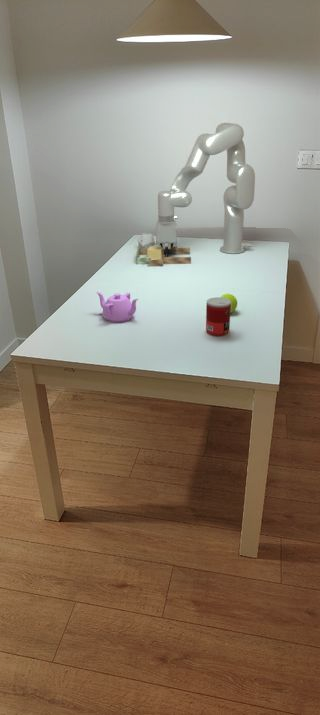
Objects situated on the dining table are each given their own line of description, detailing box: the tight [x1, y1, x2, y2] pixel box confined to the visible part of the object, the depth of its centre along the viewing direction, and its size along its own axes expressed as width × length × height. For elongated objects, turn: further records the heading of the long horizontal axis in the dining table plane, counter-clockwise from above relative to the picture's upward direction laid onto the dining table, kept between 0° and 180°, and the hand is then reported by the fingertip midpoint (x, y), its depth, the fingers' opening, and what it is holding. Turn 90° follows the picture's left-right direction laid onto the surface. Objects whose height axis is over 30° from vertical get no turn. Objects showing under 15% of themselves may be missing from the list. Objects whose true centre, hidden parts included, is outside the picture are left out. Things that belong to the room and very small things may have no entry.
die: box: [136, 233, 156, 249], centre depth 266 cm, size 8×9×10 cm
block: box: [146, 245, 165, 260], centre depth 253 cm, size 7×7×4 cm
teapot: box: [95, 291, 139, 323], centre depth 185 cm, size 12×14×9 cm
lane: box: [135, 245, 192, 267], centre depth 250 cm, size 26×23×4 cm
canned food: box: [205, 296, 231, 337], centre depth 172 cm, size 8×8×11 cm
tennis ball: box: [220, 293, 238, 314], centre depth 188 cm, size 7×7×7 cm
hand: (166, 256), depth 251 cm, fingers closed
